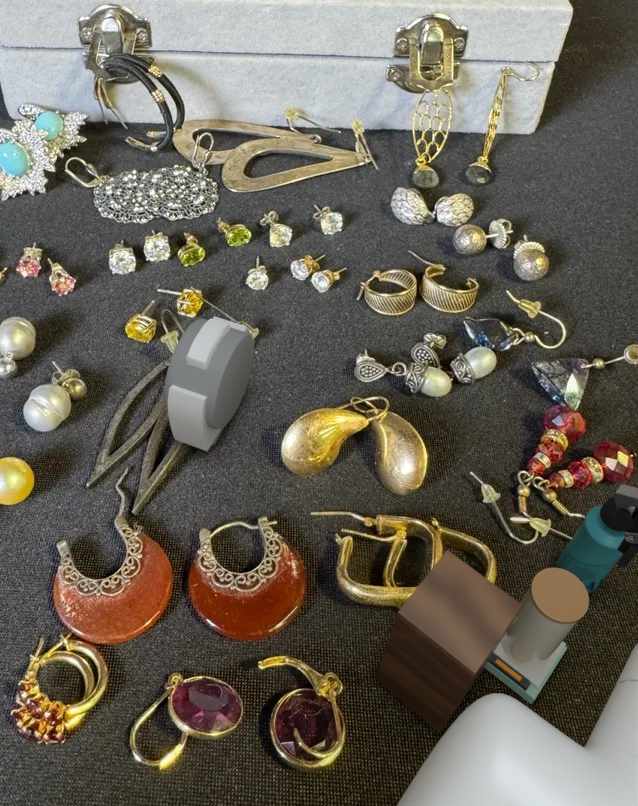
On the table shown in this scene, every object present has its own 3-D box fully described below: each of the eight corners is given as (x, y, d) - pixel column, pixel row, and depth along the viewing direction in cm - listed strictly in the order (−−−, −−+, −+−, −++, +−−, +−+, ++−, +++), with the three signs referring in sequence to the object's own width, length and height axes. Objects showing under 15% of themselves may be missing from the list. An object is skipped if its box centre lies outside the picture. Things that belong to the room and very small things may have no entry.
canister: (536, 681, 103) (573, 633, 91) (490, 646, 106) (521, 596, 94) (560, 641, 106) (599, 591, 94) (515, 609, 109) (548, 556, 97)
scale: (530, 704, 104) (536, 697, 102) (472, 658, 108) (476, 650, 105) (563, 652, 108) (569, 644, 106) (505, 610, 112) (510, 601, 110)
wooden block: (439, 733, 101) (475, 674, 85) (375, 678, 106) (397, 612, 89) (481, 672, 106) (523, 605, 90) (418, 622, 111) (447, 549, 94)
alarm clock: (213, 368, 140) (208, 287, 125) (258, 384, 138) (258, 303, 123) (165, 449, 129) (154, 371, 114) (213, 467, 127) (208, 389, 112)
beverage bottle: (548, 592, 114) (593, 524, 99) (552, 551, 118) (596, 479, 103) (596, 606, 112) (649, 540, 97) (598, 564, 117) (650, 494, 102)
